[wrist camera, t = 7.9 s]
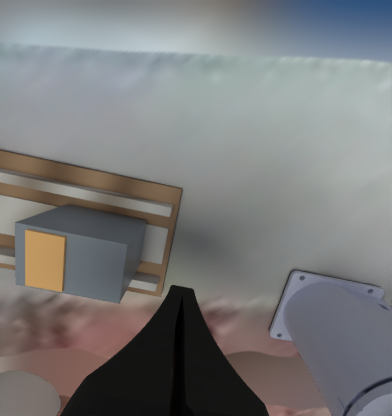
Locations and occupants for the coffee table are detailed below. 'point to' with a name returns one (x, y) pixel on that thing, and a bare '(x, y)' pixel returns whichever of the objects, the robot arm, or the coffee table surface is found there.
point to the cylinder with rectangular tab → (27, 395)
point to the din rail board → (88, 198)
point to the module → (79, 252)
